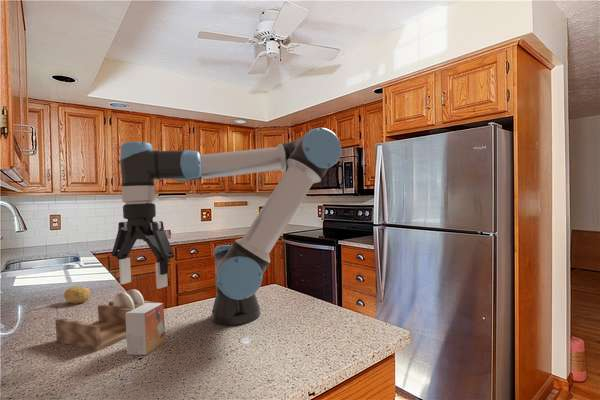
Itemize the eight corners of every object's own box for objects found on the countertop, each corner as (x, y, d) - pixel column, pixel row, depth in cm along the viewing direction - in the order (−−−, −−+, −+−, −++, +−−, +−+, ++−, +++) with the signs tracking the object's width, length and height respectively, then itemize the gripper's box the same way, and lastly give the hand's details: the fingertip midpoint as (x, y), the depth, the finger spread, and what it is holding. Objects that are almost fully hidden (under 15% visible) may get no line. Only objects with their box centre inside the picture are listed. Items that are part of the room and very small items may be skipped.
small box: (146, 356, 80) (144, 313, 80) (126, 355, 81) (124, 312, 81) (166, 341, 88) (164, 302, 87) (147, 340, 89) (145, 302, 89)
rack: (160, 322, 102) (159, 289, 101) (97, 351, 84) (95, 311, 83) (122, 315, 109) (120, 285, 109) (56, 340, 91) (54, 304, 91)
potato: (76, 307, 121) (75, 290, 121) (59, 304, 126) (58, 288, 126) (94, 301, 127) (93, 285, 127) (77, 298, 132) (76, 283, 132)
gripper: (186, 200, 82) (190, 285, 82) (120, 203, 93) (124, 278, 93) (162, 201, 75) (166, 293, 75) (94, 205, 86) (98, 285, 86)
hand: (143, 285), depth 84 cm, fingers open, 13 cm apart
